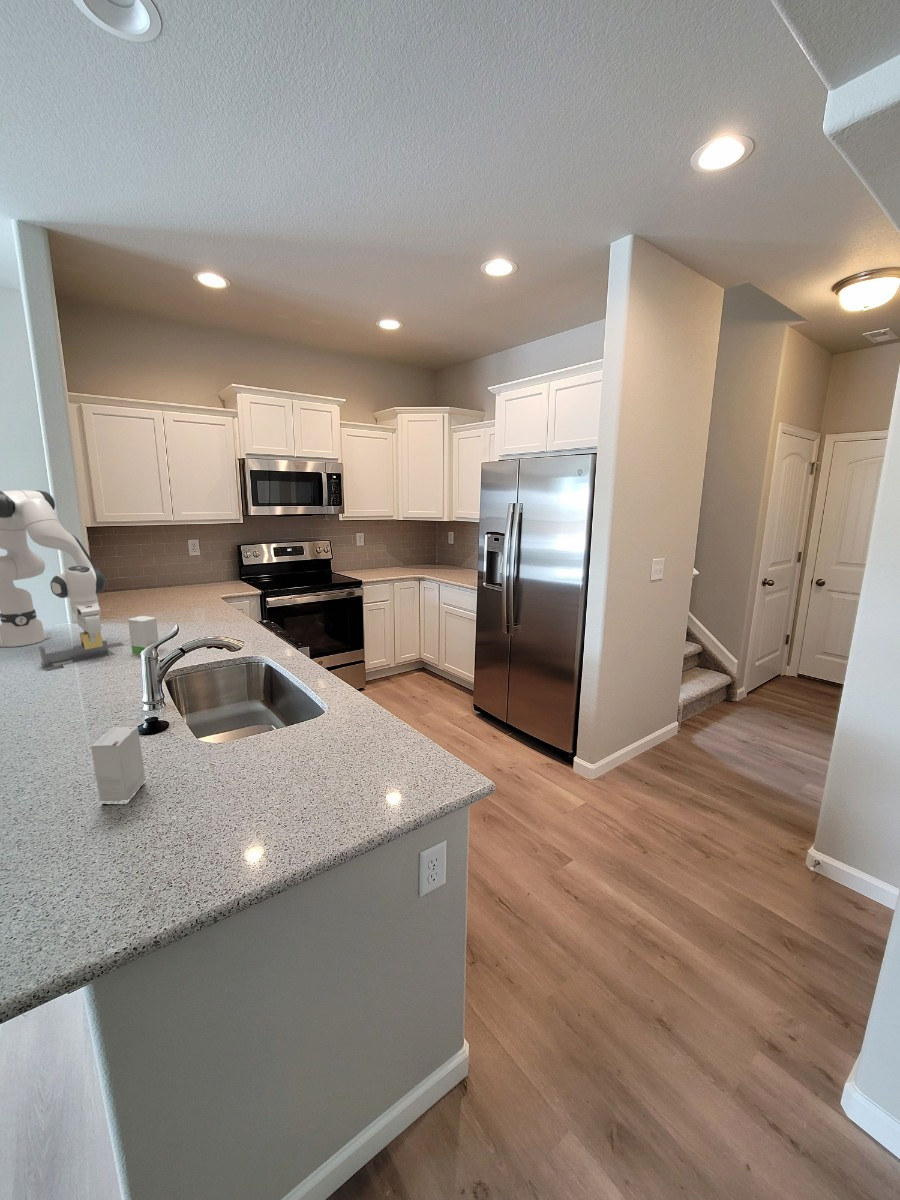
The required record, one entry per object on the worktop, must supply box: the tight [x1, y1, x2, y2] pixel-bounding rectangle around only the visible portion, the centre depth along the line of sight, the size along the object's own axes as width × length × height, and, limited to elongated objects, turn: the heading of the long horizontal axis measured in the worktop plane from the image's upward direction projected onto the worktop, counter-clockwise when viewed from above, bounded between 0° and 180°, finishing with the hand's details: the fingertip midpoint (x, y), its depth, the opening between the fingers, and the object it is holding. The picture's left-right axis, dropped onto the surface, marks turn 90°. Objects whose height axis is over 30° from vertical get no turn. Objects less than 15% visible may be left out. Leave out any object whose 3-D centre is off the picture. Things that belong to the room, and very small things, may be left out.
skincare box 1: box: [90, 726, 146, 803], centre depth 108 cm, size 8×6×15 cm
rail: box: [38, 640, 115, 672], centre depth 194 cm, size 10×22×8 cm, turn 138°
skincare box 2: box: [127, 615, 159, 657], centre depth 201 cm, size 8×7×16 cm
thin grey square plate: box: [107, 642, 125, 649], centre depth 211 cm, size 6×7×1 cm
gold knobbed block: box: [79, 631, 103, 650], centre depth 197 cm, size 5×6×7 cm
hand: (91, 640), depth 197 cm, fingers closed on gold knobbed block, 5 cm apart
